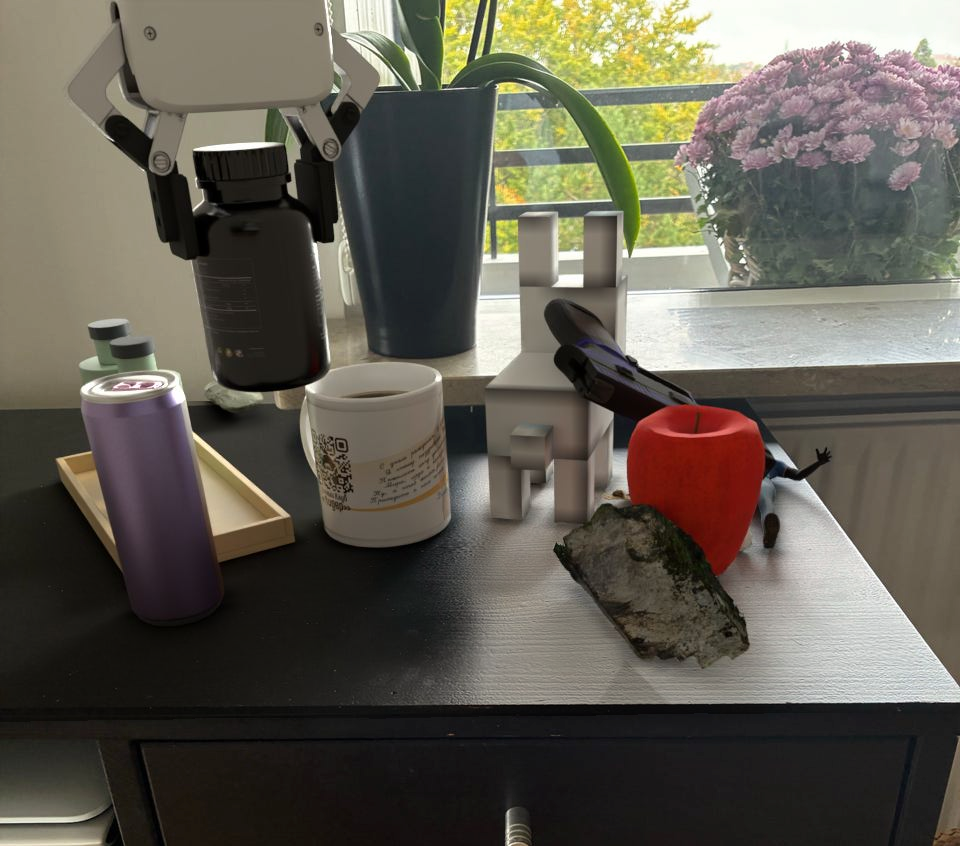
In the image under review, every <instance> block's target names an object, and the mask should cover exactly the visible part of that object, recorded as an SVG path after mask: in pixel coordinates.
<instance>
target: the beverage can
mask: <svg viewBox="0 0 960 846" xmlns="http://www.w3.org/2000/svg"><path fill="white" fill-rule="evenodd" d="M178 383H179V380H178V377H177V376H176V375H175V374H172V373H169V372H164V371H134V372H126V373H119V374H114V375H110V376H105V377H102V378H99V379H96V380H93V381H91V382H88V383H87V384H85V385H84V386H83V385H82V386H81V387H80V389H79V394H80V397H81V404H80V413H81V416H82V421H83V423H84V424H83V425H84V427H85V431H86V435H87V439H88V443H89V447H90V451H92V455H93V459H94V463H95V467H96V471H97V475H98V479H99V483H100V486H101V490H102V494H103V498H104V502H105V506H106V510H107V514H108V518H109V521H110V525H111V529H112V533H113V537H114V541H115V545H116V549H117V553H118V556H119V560H120V564H121V568H122V571H121V573H122V572H123V573H122V576H123V580H124V583H125V587H126V591H127V595H128V599H129V603H130V607H131V610H132V612H133V613H134V614H135V615H136V616H137V617H138V618H139V619H140V620H142V621H143V622H144V623H146V624H148V625H151V626H155V627H180V626H185V625H189V624H192V623H196V622H199V621H201V620H203V619H205V618H207V617H209V616H210V615H212V614H213V613H215V612H216V610H217V609H218V608H219V607H220V605H221V603H222V601H223V598H224V596H225V588H224V582H223V577H222V572H221V567H220V562H218V557H217V552H216V547H215V542H214V537H213V532H212V527H211V522H210V517H209V512H208V507H207V502H206V497H205V492H204V487H203V482H202V477H201V473H200V468H199V463H198V458H197V453H196V448H195V443H194V438H193V433H192V431H193V428H192V424H191V423H192V422H191V419H190V413H189V409H188V408H189V407H188V404H187V399H186V395H185V392H184V390H183V391H182V389H181V388H180V386H179V384H178ZM183 392H184V393H183Z"/></svg>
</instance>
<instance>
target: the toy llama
mask: <svg viewBox="0 0 960 846" xmlns="http://www.w3.org/2000/svg"><path fill="white" fill-rule="evenodd" d="M582 219H583V222H582V223H583V226H582V227H583V232H582V233H583V234H582V235H583V238H582V241H583V242H582V243H583V245H582V247H583V249H582V250H583V251H582V252H583V253H582V256H583V258H582V259H583V260H582V261H583V262H582V264H583V265H582V269H583V271H582V272H583V273H582V274H579V273H578V274H574V273H573V274H572V273H570V274H569V273H567V274H564V273H563V274H562V273H561V274H560V273H559V271H560V270H559V268H560V267H559V212H558V211H526V212H524V213H522V214H520V215H518V216H517V243H518V245H517V246H518V280H519V281H518V282H519V285H518V286H519V287H518V288H519V318H520V321H519V322H520V353H519V354H517V356H515V357H514V358H513V359H512V360H511V361H510V362H509V363H508V364H507V365H506V367H504V368H503V369H502V370H501V371H500V372H499V373H498V374H497V375H496V376H495V377H494V378H493V379H492V380H491V381H490V382H489V383H488V384H487V385H485V387H484V401H485V403H484V405H485V422H486V423H485V424H486V425H485V426H486V447H487V467H488V469H487V470H488V491H489V510H490V511H489V512H490V518H494V519H504V520H519V521H523V520H524V518H525V517H526V515H527V514H528V512H529V510H530V509H531V505H532V504H531V484H543V485H547V483H548V482H549V480H550V479H551V478H552V477H553V509H554V510H553V511H554V513H553V514H554V518H553V519H554V523H555V524H557V523H558V524H570V525H581V526H582V525H584V524H585V523H586V522H589V521H590V520H591V517H592V516H593V514H594V513H595V488H602V489H607V488H608V486H609V484H610V482H611V480H612V478H613V466H614V465H613V464H614V463H613V461H614V414H615V413H614V412H612V411H610V410H608V409H606V408H604V407H601V406H599V405H597V404H595V403H593V402H591V401H589V400H587V399H585V398H583V397H581V396H580V395H579V393H578V392H577V390H576V389H575V387H574V386H573V383H571V382H570V381H569V379H568V378H567V377H566V376H565V375H564V374H563V373H562V372H561V371H560V370H559V369H558V368H557V367H556V365H555V364H554V355H555V353H556V351H557V350H558V348H559V347H560V346H561V345H560V344H559V342H558V341H557V340H556V339H555V337H554V336H553V334H552V333H551V331H550V329H549V327H548V325H547V323H546V321H545V318H544V310H545V308H546V306H547V305H548V303H549V302H550V301H552V300H554V299H559V298H560V299H566V300H569V301H572V302H574V303H576V304H578V305H580V306H582V307H584V308H585V309H587V310H589V311H590V312H592V313H593V314H595V315H596V316H597V317H598V318H599V319H600V321H601V322H602V324H603V326H604V327H605V328H606V330H607V331H608V332H609V334H610V335H611V337H612V338H613V339H614V341H615V342H616V344H617V345H618V346H619V347H620V349H621V350H622V352H623V353H624V355H627V353H626V351H627V317H628V315H627V312H628V274H623V256H624V255H623V253H624V252H623V251H624V248H623V247H624V210H593V211H592V210H590V211H588V212H587V213H586V214H584V215H583V218H582Z"/></svg>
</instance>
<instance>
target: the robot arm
mask: <svg viewBox="0 0 960 846" xmlns="http://www.w3.org/2000/svg"><path fill="white" fill-rule="evenodd" d="M104 2H105V8H106V17H107V26H108V29H107V30H106V31H105V32H104V33H103V35H102V36H101V37H100V39H99V40H98V41H97V42H96V44H95V45H94V46H93V47H92V48H91V50H90V51H89V53H88V54H87V55H86V56H85V57H84V58H83V60H82V61H81V63H80V64H79V65H78V66H77V68H76V69H75V70H74V71H73V72H72V73H71V75H70V76H69V77H68V79H67V80H66V81H65V83H64V84H63V87H62V93H63V96H64V98H65V100H66V101H67V102H68V103H69V104H70V105H71V106H72V107H74V108H75V110H77V111H78V112H79V113H80V115H82V116H83V117H84V118H85V119H86V121H88V122H89V123H90V124H91V125H92V126H94V127H95V128H96V129H97V130H98V131H99V132H100V133H101V134H102V135H103V137H104V138H105V139H107V141H109V142H110V143H111V144H112V145H114V147H116V148H117V149H118V150H119V151H120V152H121V153H123V154H124V155H125V156H126V157H128V158H129V159H130V160H131V161H133V162H134V164H136V165H137V167H138V168H139V169H140V170H142V171H143V172H145V173H146V178H147V183H148V191H149V195H150V200H151V206H152V212H153V217H154V223H155V227H156V232H157V236H158V238H159V240H160V242H161V243H163V244H169V249H170V253H171V255H173V256H176V257H178V258H180V259H181V260H184V261H191V260H194V259H196V258H197V256H199V255H200V252H199V246H198V240H197V234H196V228H195V222H194V216H193V204H192V198H191V192H190V186H189V181H188V178H187V176H186V175H184V174H183V173H180V171H179V167H178V162H177V160H176V159H177V155H178V152H179V147H180V144H181V141H182V137H183V134H184V129H185V125H186V122H187V118H188V115H189V114H204V113H221V112H240V111H256V110H271V109H272V110H274V109H278V110H279V113H280V114H281V117H282V118H283V119H284V121H285V123H286V125H287V126H288V129H289V131H290V132H291V133H292V134H291V135H292V136H293V138H294V139H295V142H296V144H297V146H298V147H299V155H300V158H297V159H296V158H295V162H294V163H293V173H294V180H295V189H296V199H298V200H300V201H301V202H302V203H304V204H305V205H306V206H307V207H308V209H309V210H310V212H311V214H312V215H313V218H314V223H315V229H316V237H317V243H321V244H331V243H334V242H335V227H334V224H335V225H336V224H338V223H339V217H340V215H339V205H338V195H337V186H336V185H337V184H336V174H335V164H334V163H335V161H337V160H338V159H339V158H340V156H341V154H342V147H343V146H344V144H345V143H346V141H347V140H348V139H349V137H350V135H351V134H352V133H353V131H354V130H355V128H356V127H357V125H358V124H359V123H360V120H361V114H362V112H363V111H364V110H365V109H366V108H367V106H368V104H369V103H370V101H371V99H372V97H373V96H374V94H375V92H376V91H377V89H378V87H379V85H380V83H381V76H380V72H379V71H378V70H377V69H376V68H375V67H374V65H372V64H371V63H370V62H369V61H368V59H366V57H364V56H363V55H362V54H361V53H360V52H359V51H358V50H357V48H355V47H354V46H353V45H352V44H351V43H350V42H349V41H348V40H347V39H346V38H345V37H344V36H343V35H342V34H341V33H340V32H339V31H338V30H337V29H335V27H334V26H332V24H330V19H329V18H330V17H329V13H328V11H329V10H328V4H327V0H104ZM335 73H337V75H338V76H339V77H340V79H341V87H340V89H339V91H338V93H337V96H336V97H335V100H334V101H333V102H331V103H330V104H329V105H328V107H327V108H326V110H325V111H324V110H323V108H322V105H321V104H320V102H322V101H324V100H326V99H327V97H329V96H330V94H331V93H332V91H333V90H334V89H333V88H334V83H335ZM115 77H116V80H117V83H118V87H119V90H120V93H121V95H122V97H123V99H124V100H125V101H126V102H127V103H128V104H129V105H131V106H133V107H135V108H137V109H139V110H143V111H145V114H144V118H143V122H142V127H141V128H139V127H138V126H137V124H135V123H134V122H133V121H131V120H130V119H129V118H128V117H126V116H125V115H123V113H121V112H120V111H119V110H118V108H116V107H115V105H114V104H113V103H112V102H111V101H110V100H109V99H108V97H107V96H108V95H107V88H108V86H109V84H110V83H111V82H112V80H113V79H114V78H115Z"/></svg>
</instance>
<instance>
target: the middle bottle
mask: <svg viewBox="0 0 960 846" xmlns="http://www.w3.org/2000/svg"><path fill="white" fill-rule="evenodd" d="M155 345H156V344H155V340H154V337H153V336H151V335H145V334H136V335H129V336H126V337H121V338H117V339H114V340H112V341H110V342H109V346H110V350H111V354H112V357H114V358H115V359H116V364H117V368H118V372H119V373H126V372H134V371H164V372H169V373H172V374H175V375H176V376H177V377H178V380H179V383H178V384H179V386H180V388H181V389H182V391H183V393H184V394H185V392H184V387H183V383H182V378H181V374H180V373H179V372H177V371H175V370H171V369H158V367H156V366H157V362H155V361H156V357H155V352H156V346H155ZM154 357H155V358H154Z"/></svg>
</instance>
